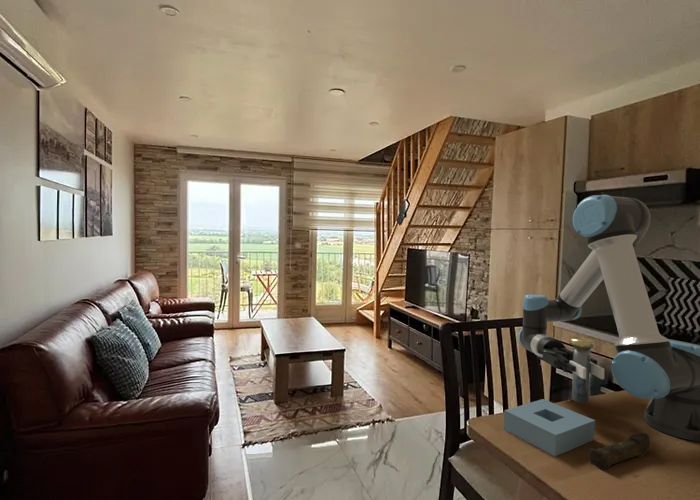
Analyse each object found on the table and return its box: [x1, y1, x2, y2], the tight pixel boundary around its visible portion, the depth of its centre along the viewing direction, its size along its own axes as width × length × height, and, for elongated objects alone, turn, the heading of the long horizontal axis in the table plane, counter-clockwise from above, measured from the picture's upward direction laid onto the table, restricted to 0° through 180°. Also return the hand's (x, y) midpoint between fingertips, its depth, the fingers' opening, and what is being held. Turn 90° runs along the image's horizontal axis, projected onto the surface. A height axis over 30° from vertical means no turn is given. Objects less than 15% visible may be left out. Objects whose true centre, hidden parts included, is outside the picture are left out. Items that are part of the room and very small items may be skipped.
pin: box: [569, 336, 595, 404], centre depth 106 cm, size 6×6×16 cm
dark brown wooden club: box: [588, 432, 651, 470], centre depth 89 cm, size 19×4×5 cm, turn 111°
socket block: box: [503, 398, 596, 457], centre depth 99 cm, size 14×16×5 cm
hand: (593, 373), depth 101 cm, fingers closed on pin, 4 cm apart
